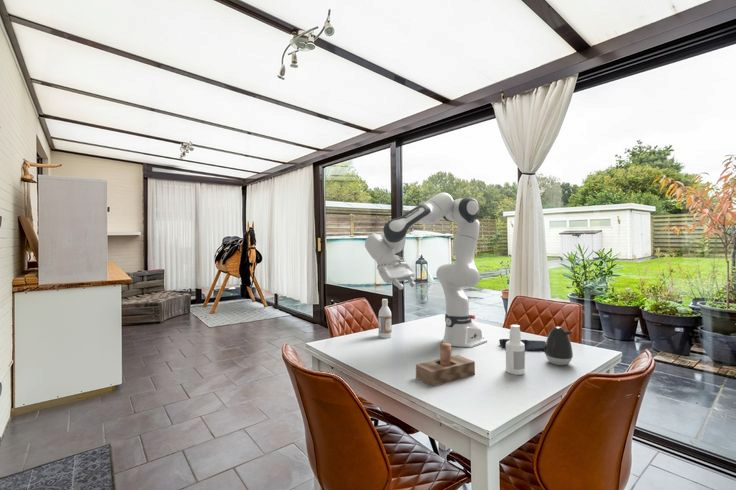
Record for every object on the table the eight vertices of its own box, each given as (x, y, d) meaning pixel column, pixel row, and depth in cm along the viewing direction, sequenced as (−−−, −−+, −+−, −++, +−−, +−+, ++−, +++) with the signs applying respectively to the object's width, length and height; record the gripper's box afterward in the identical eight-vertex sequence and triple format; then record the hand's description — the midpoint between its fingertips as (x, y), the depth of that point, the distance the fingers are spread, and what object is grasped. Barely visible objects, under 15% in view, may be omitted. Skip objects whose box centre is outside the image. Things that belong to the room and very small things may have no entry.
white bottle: (523, 376, 131) (523, 328, 131) (504, 373, 135) (503, 326, 135) (526, 370, 137) (525, 324, 137) (507, 367, 141) (507, 322, 140)
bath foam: (383, 339, 182) (383, 300, 182) (376, 336, 188) (375, 299, 188) (394, 337, 186) (393, 299, 186) (386, 334, 192) (386, 297, 192)
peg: (446, 373, 135) (446, 342, 135) (453, 376, 132) (453, 345, 131) (438, 375, 133) (437, 344, 133) (445, 379, 130) (445, 346, 130)
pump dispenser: (564, 369, 137) (564, 331, 137) (539, 362, 146) (539, 325, 146) (578, 364, 143) (578, 327, 143) (553, 357, 152) (553, 322, 151)
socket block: (458, 367, 141) (457, 354, 141) (474, 374, 134) (474, 361, 133) (416, 377, 131) (415, 364, 131) (431, 386, 123) (431, 372, 123)
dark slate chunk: (555, 354, 158) (555, 343, 158) (504, 352, 161) (503, 342, 161) (543, 344, 173) (543, 334, 173) (496, 342, 176) (496, 333, 176)
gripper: (379, 259, 146) (399, 285, 140) (405, 257, 162) (424, 280, 156) (370, 270, 149) (390, 295, 143) (398, 266, 165) (416, 289, 159)
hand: (408, 287), depth 149 cm, fingers open, 8 cm apart
